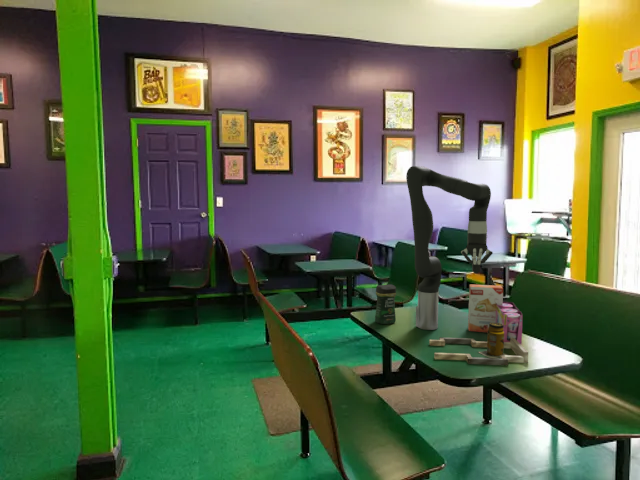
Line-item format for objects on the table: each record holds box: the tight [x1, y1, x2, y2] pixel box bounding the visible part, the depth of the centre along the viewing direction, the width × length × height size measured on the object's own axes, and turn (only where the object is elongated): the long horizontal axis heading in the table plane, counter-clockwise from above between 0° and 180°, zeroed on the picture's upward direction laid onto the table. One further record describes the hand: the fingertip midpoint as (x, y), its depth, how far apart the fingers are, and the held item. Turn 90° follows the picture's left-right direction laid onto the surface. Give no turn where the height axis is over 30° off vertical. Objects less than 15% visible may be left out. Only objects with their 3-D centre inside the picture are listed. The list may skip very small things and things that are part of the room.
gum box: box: [495, 301, 523, 345], centre depth 192 cm, size 24×8×14 cm, turn 167°
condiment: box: [478, 323, 508, 358], centre depth 173 cm, size 7×8×12 cm
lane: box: [428, 336, 529, 366], centre depth 175 cm, size 34×24×4 cm
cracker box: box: [467, 283, 504, 333], centre depth 203 cm, size 14×6×21 cm, turn 76°
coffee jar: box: [374, 284, 397, 325], centre depth 217 cm, size 10×8×19 cm
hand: (475, 273), depth 188 cm, fingers closed
